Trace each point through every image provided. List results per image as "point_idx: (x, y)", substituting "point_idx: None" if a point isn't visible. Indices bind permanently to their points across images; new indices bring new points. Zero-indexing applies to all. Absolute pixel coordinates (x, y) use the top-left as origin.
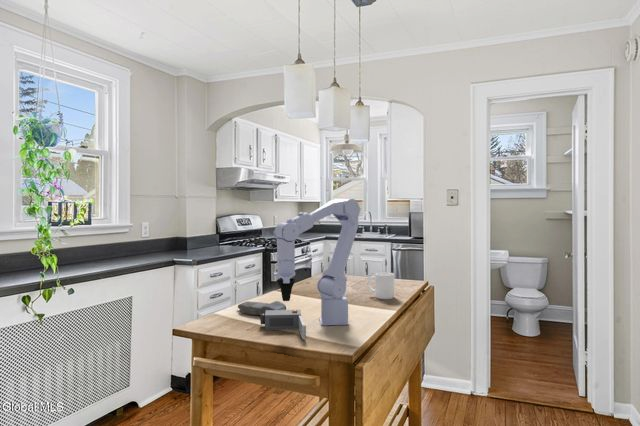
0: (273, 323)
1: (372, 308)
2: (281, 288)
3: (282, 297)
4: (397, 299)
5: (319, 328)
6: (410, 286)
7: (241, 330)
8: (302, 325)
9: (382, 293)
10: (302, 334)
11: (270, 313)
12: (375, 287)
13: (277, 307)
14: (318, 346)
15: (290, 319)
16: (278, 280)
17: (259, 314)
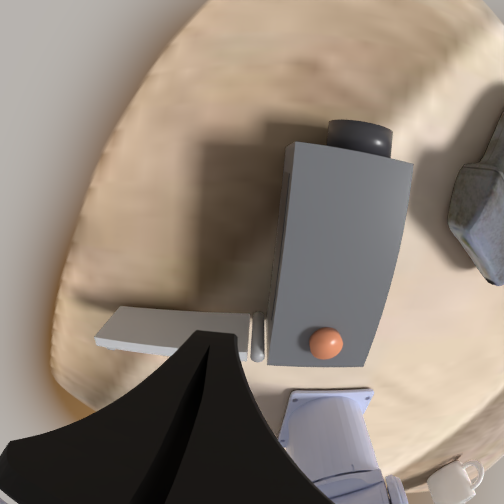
0: (282, 196)
1: (392, 471)
2: (99, 419)
3: (180, 347)
4: (417, 486)
5: (262, 380)
6: None
7: (298, 38)
8: (94, 337)
9: (438, 480)
10: (111, 316)
11: (333, 186)
12: (459, 477)
13: (485, 247)
14: (81, 337)
15: (273, 299)
16: (9, 495)
17: (484, 154)
